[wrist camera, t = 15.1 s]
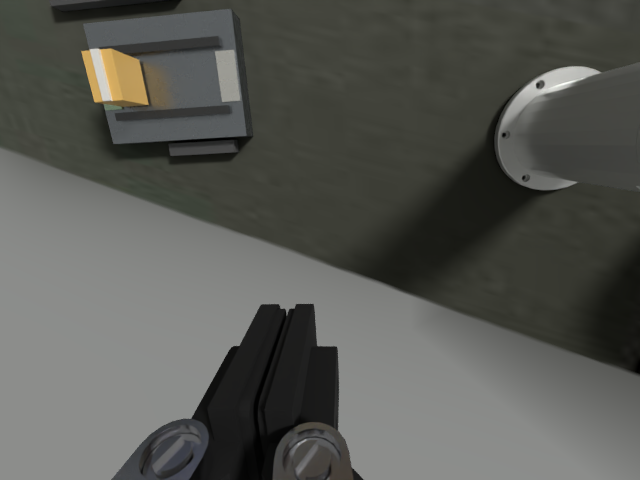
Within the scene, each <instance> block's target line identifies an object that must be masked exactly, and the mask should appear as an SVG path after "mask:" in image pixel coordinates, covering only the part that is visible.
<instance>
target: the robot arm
mask: <svg viewBox="0 0 640 480" xmlns="http://www.w3.org/2000/svg"><path fill="white" fill-rule="evenodd" d="M536 84H537V88H536ZM503 133H504V137H502V134H503ZM494 146H495V153H496V158H497V161H498V163H499V165H500V167H501V169H502V170H503V171H504V173H505V174H506V175H507V176H508V177H509V178H510V179H512V180H513V181H514V182H516V183H518V184H520V185H522V186H524V187H528V188H531V189H537V190H557V189H561V188H566V187H569V186H571V185H574V184H576V183H578V182H581V183H587V184H593V185H599V186H605V187H611V188H617V189H624V190H630V191H636V192H640V62H639V63H635V64H632V65H628V66H624V67H621V68H617V69H613V70H610V71H606V72H603V73H601V72H599V71H597V70H596V69H592V68H588V67H584V66H569V67H563V68H558V69H555V70H552V71H549V72H546V73H544V74H542V75H540V76H537V77H535V78H534V79H532V80H531V81H529V82H528V83H526V84H525V85H524V86H523V87H521V88H520V89H519V90H518V91H517V92H516V93H515V94H514V95H513V97H512V98H511V99H510V100H509V102H508V103H507V104H506V106H505V108H504V110H503V111H502V113H501V115H500V118H499V120H498V123H497V126H496V131H495V137H494ZM522 177H523V179H522ZM337 352H338V350H337V347H322V346H320V347H318V346H317V341H316V326H315V312H314V305H313V304H296V306H295V309H289V312H288V315H287V316H286V310H285V309H280V306H279V304H271V305H270V304H269V305H266V304H265V305H264V304H263V305H261V306H260V308H259V309H258V311H257V314H256V315H255V317H254V319H253V321H252V323H251V325H250V327H249V329H248V331H247V333H246V335H245V337H244V338H243V340H242V342H241V344H240V346H233V347H232V348H231V349H230V350H229V352H228V354H227V355H226V357H225V359H224V361H223V363H222V364H221V366H220V368H219V370H218V372H217V373H216V375H215V377H214V379H213V381H212V382H211V384H210V386H209V388H208V390H207V391H206V393H205V395H204V397H203V399H202V400H201V402H200V404H199V406H198V408H197V410H196V411H195V413H194V415H193V417H192V419H181V420H176V421H173V422H171V423H168V424H166V425H164V426H162V427H160V428H159V429H158V430H156V431H155V432H153V433H152V434H150V435H149V436H148V437H147V439H146V440H144V441H143V442H142V444H141V445H140V446H139V447H138V448H137V449H136V451H135V452H134V453H133V454H132V455H131V457H130V458H129V459H128V460H127V461H126V463H125V464H124V465H123V466H122V468H121V469H120V470H119V471H118V472H117V474H116V475H115V476H114V477H113V478H112V480H363V479H362V478H361V477H360V475H359V474H358V473H357V472H356V471H354V469H352V467H351V461H350V455H349V450H348V447H347V444H346V441H345V439H344V438H343V437H342V435H341V434H340V433H339V431H338V406H339V405H338V402H339V401H338V400H339V375H338V353H337Z"/></svg>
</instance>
